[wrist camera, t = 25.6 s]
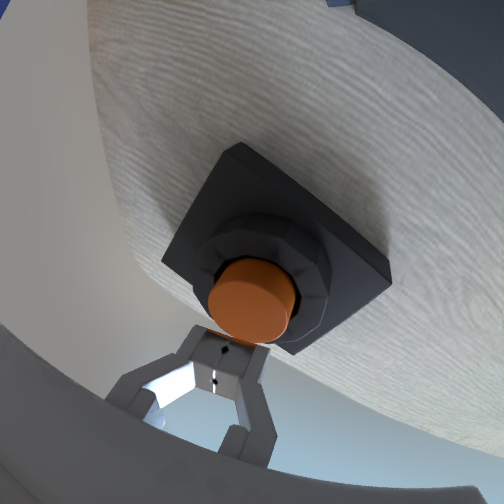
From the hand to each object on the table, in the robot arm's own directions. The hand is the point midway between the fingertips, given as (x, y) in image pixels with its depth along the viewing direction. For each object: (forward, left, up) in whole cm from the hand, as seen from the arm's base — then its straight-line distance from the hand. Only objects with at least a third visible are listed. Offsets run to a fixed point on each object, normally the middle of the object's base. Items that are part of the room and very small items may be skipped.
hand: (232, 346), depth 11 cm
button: (0, 0, -4) cm, 4 cm away
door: (-1, +23, -7) cm, 24 cm away
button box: (0, 0, -7) cm, 7 cm away
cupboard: (+17, +18, -7) cm, 26 cm away
